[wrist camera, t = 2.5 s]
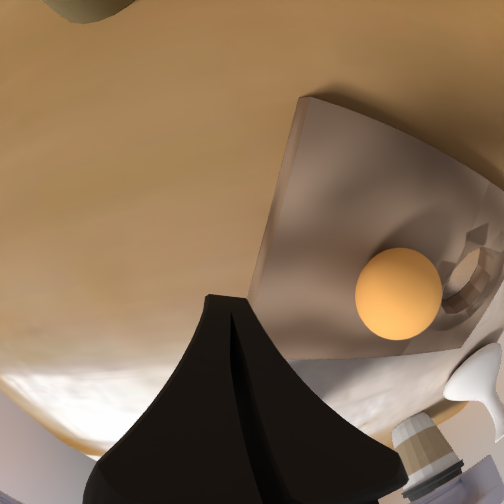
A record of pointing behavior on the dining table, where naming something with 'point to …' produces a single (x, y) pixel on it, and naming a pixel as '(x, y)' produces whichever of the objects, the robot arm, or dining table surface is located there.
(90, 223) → the dining table surface
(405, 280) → the ball
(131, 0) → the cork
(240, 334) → the robot arm
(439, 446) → the coffee cup
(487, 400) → the flower in vase
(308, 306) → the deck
